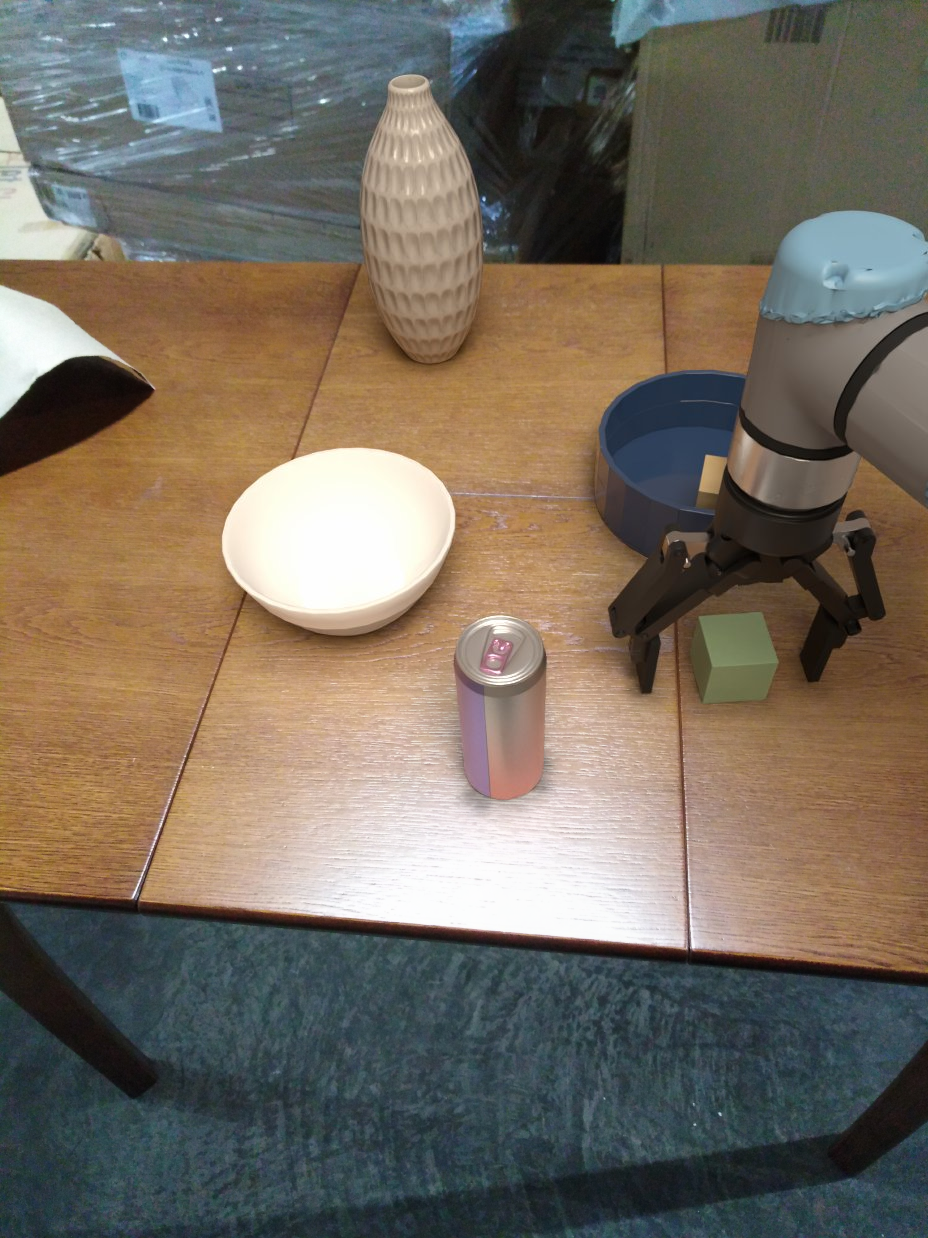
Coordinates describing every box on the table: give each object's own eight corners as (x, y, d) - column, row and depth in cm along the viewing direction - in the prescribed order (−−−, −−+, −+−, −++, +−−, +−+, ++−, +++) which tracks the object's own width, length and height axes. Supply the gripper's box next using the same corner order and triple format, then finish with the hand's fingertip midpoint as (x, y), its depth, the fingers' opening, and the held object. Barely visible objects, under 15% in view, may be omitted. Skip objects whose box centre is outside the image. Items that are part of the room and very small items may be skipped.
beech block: (751, 503, 84) (762, 462, 80) (746, 540, 81) (757, 499, 77) (697, 495, 85) (705, 454, 81) (690, 531, 82) (698, 490, 78)
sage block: (749, 650, 74) (761, 611, 70) (765, 700, 71) (779, 662, 67) (689, 654, 74) (698, 615, 70) (702, 704, 71) (712, 666, 67)
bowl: (252, 524, 86) (230, 458, 80) (452, 504, 87) (446, 436, 80) (237, 688, 74) (210, 626, 68) (471, 664, 74) (466, 599, 68)
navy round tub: (816, 444, 90) (835, 385, 84) (801, 590, 78) (822, 533, 72) (616, 414, 94) (622, 357, 89) (573, 548, 82) (577, 491, 77)
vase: (408, 395, 98) (376, 122, 76) (359, 340, 105) (317, 76, 84) (507, 358, 102) (503, 86, 80) (453, 306, 109) (436, 45, 87)
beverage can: (452, 789, 67) (437, 671, 55) (481, 726, 70) (472, 602, 59) (528, 814, 65) (529, 698, 54) (553, 748, 69) (559, 625, 57)
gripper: (962, 421, 58) (864, 627, 74) (580, 448, 58) (567, 647, 75) (1012, 501, 53) (896, 702, 70) (596, 530, 53) (579, 723, 70)
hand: (726, 674), depth 72 cm, fingers open, 13 cm apart
